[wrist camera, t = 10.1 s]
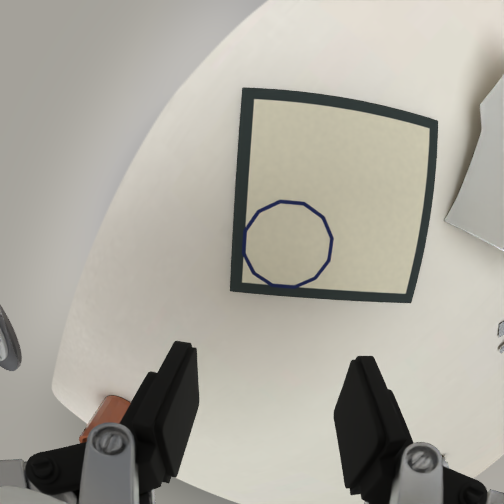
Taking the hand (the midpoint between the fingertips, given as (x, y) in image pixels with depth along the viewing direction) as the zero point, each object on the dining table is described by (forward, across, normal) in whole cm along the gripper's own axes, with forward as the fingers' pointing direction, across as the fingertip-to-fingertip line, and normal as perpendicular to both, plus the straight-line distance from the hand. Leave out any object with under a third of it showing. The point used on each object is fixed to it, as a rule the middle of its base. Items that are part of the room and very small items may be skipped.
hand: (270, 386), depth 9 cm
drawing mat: (+16, -5, -5) cm, 17 cm away
